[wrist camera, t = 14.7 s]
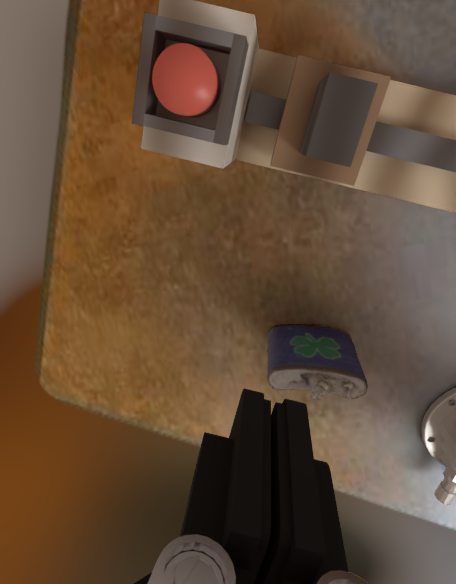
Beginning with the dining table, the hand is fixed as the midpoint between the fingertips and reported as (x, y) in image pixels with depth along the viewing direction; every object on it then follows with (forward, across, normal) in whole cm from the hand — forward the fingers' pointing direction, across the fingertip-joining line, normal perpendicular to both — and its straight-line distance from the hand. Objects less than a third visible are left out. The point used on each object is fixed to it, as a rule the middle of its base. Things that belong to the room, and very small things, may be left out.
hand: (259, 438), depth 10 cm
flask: (+31, -8, +12) cm, 35 cm away
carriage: (+28, -2, -9) cm, 30 cm away
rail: (+31, -5, -9) cm, 33 cm away
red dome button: (+19, +7, -9) cm, 22 cm away
